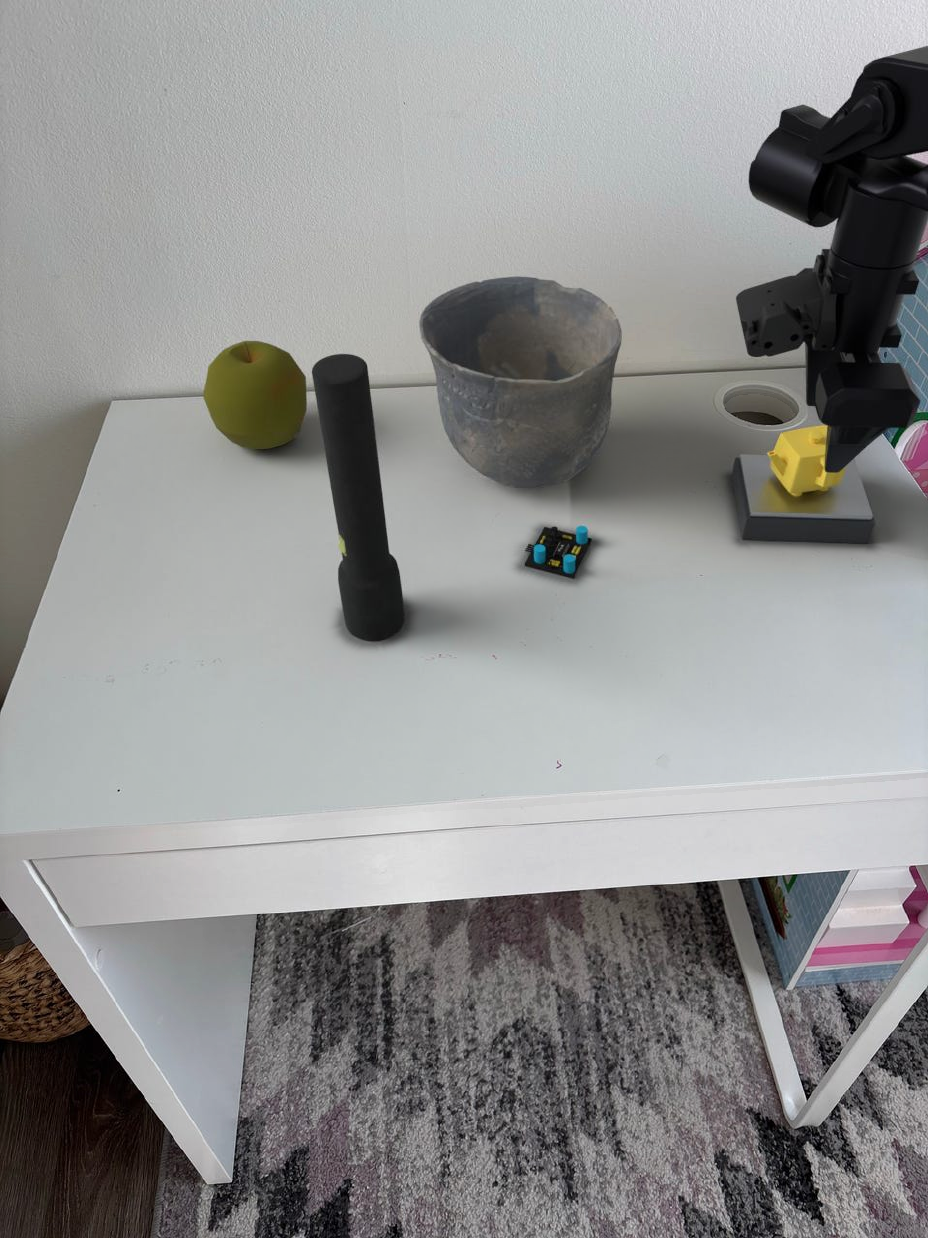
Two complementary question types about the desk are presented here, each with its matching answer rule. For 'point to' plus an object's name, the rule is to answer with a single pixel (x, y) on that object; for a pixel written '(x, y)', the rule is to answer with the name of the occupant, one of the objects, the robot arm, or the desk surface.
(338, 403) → the flashlight
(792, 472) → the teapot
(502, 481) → the bowl
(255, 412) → the apple
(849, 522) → the scale
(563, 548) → the circuit board
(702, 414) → the desk surface
